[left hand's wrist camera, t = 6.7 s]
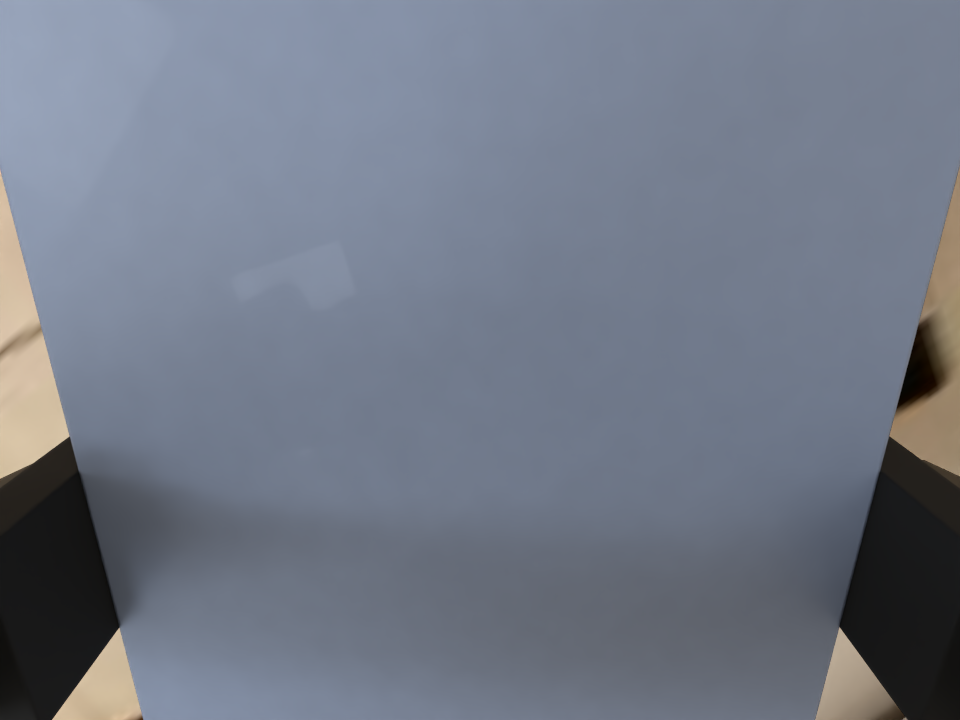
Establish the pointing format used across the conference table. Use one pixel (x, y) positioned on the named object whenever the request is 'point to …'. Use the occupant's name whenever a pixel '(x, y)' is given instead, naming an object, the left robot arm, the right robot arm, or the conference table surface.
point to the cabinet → (479, 337)
